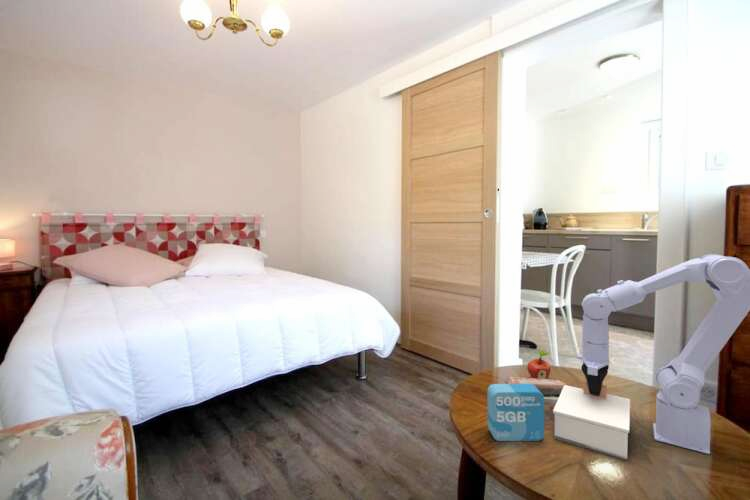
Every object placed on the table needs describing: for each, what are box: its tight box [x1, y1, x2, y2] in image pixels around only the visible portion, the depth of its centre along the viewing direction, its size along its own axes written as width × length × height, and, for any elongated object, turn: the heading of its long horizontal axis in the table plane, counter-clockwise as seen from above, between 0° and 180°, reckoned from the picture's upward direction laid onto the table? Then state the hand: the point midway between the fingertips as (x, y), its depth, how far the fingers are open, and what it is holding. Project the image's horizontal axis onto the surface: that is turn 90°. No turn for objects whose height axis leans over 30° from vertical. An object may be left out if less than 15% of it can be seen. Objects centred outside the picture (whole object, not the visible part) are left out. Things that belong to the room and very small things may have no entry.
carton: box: [554, 413, 629, 461], centre depth 85 cm, size 14×16×6 cm
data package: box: [486, 383, 545, 442], centre depth 84 cm, size 12×4×12 cm, turn 88°
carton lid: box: [552, 381, 631, 434], centre depth 85 cm, size 15×17×3 cm
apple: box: [526, 349, 551, 379], centre depth 114 cm, size 8×7×10 cm
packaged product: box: [504, 376, 567, 405], centre depth 105 cm, size 18×5×10 cm
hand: (594, 393), depth 90 cm, fingers closed on carton lid
